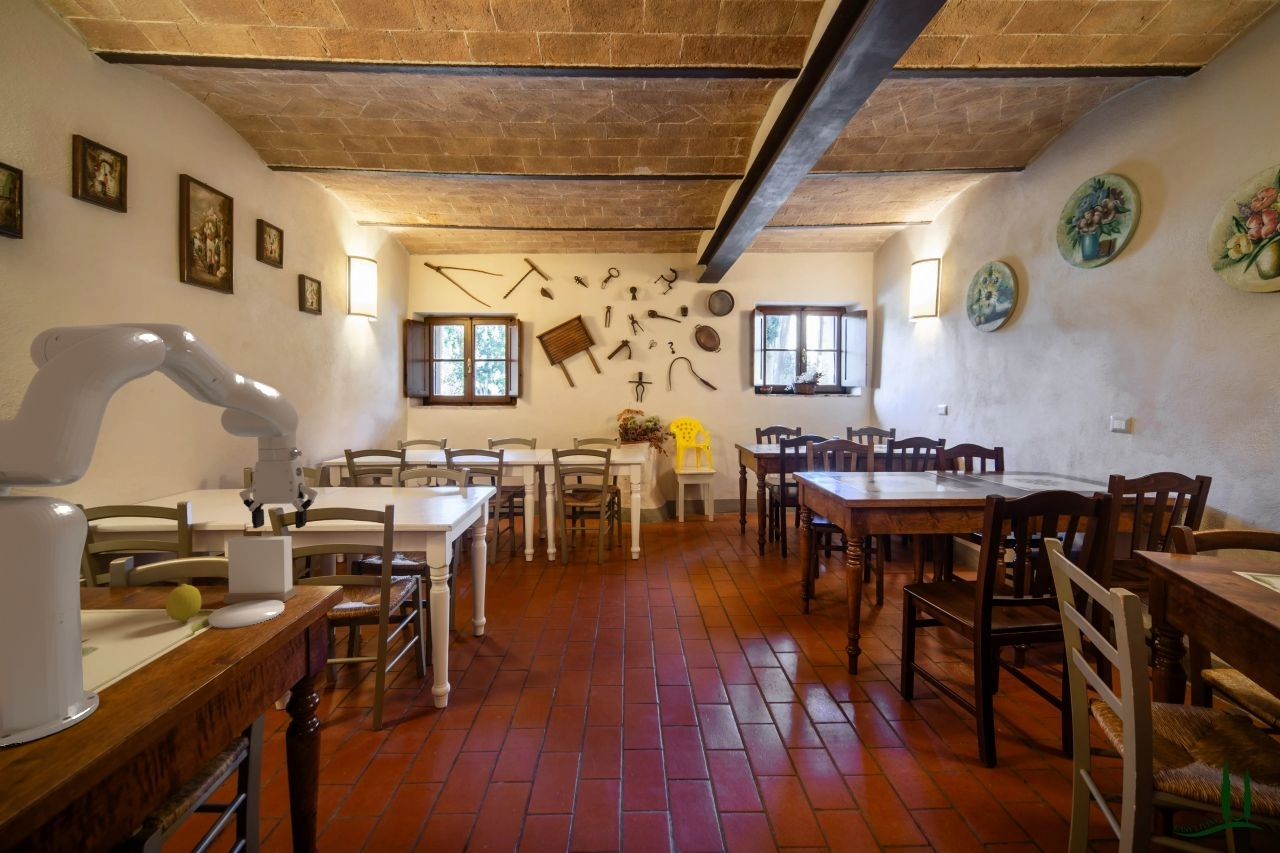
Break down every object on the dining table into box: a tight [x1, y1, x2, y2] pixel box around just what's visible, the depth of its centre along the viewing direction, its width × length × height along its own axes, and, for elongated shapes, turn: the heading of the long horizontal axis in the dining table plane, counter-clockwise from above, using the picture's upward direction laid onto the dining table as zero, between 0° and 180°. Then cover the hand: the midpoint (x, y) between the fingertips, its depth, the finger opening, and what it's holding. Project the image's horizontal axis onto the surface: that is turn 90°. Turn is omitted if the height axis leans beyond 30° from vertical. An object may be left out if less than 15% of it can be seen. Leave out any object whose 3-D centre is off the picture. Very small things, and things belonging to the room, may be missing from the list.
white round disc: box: [207, 600, 286, 629], centre depth 116 cm, size 13×13×1 cm
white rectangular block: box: [223, 535, 298, 604], centre depth 125 cm, size 5×13×14 cm, turn 93°
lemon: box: [165, 583, 202, 624], centre depth 111 cm, size 6×6×8 cm
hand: (279, 526), depth 132 cm, fingers open, 9 cm apart
